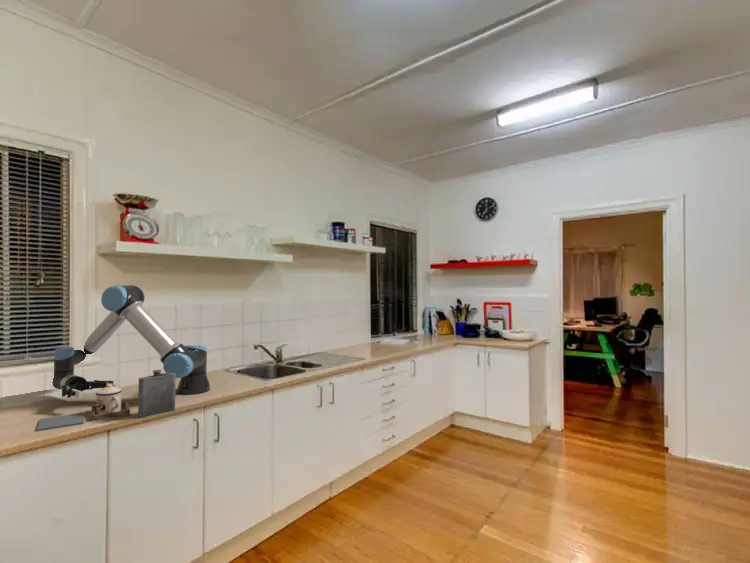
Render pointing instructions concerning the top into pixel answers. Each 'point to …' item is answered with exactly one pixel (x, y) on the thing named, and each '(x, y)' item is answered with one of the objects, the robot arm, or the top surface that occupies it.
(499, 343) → the top surface
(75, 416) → the slate mat
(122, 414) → the brown wooden tray
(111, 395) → the teacup with lid
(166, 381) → the flask
